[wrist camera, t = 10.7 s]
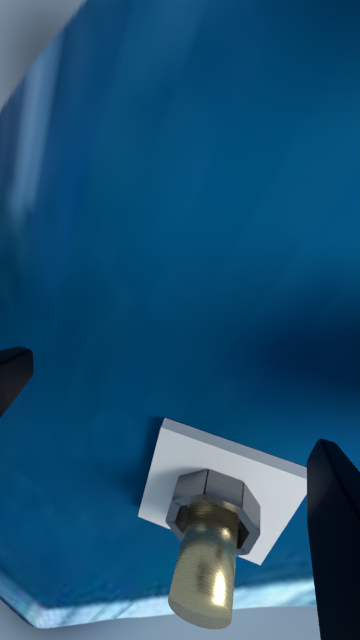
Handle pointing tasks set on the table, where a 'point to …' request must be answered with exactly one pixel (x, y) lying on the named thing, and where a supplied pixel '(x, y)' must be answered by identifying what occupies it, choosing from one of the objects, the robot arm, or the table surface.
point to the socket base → (230, 459)
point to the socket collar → (222, 494)
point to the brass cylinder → (206, 567)
